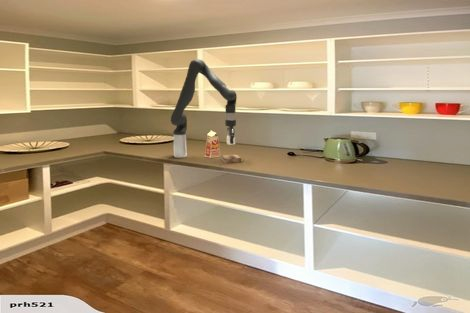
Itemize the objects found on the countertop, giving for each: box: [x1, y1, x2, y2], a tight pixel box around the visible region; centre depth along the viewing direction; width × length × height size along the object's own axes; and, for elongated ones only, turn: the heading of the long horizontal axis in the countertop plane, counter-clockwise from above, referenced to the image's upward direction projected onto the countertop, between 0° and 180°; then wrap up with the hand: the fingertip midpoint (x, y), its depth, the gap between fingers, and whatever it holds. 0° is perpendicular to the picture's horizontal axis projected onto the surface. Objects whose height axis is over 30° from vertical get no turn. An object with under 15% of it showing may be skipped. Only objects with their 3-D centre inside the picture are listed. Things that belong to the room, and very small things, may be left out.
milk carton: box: [204, 130, 221, 159], centre depth 287 cm, size 9×9×20 cm
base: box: [220, 154, 242, 164], centre depth 272 cm, size 12×12×3 cm
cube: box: [226, 134, 236, 146], centre depth 270 cm, size 5×5×6 cm
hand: (230, 143), depth 270 cm, fingers closed on cube, 5 cm apart
